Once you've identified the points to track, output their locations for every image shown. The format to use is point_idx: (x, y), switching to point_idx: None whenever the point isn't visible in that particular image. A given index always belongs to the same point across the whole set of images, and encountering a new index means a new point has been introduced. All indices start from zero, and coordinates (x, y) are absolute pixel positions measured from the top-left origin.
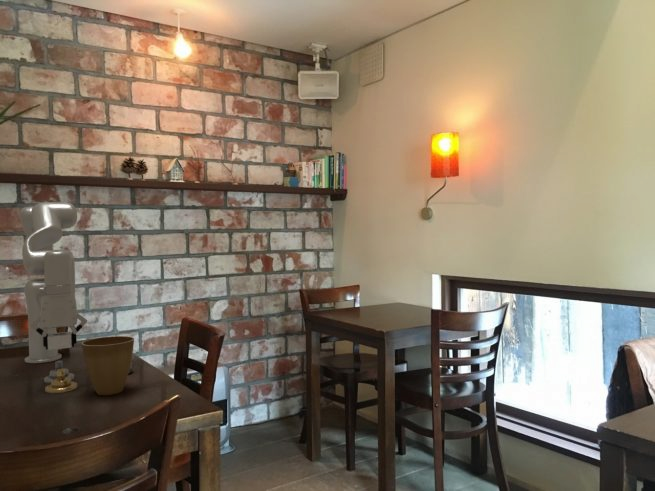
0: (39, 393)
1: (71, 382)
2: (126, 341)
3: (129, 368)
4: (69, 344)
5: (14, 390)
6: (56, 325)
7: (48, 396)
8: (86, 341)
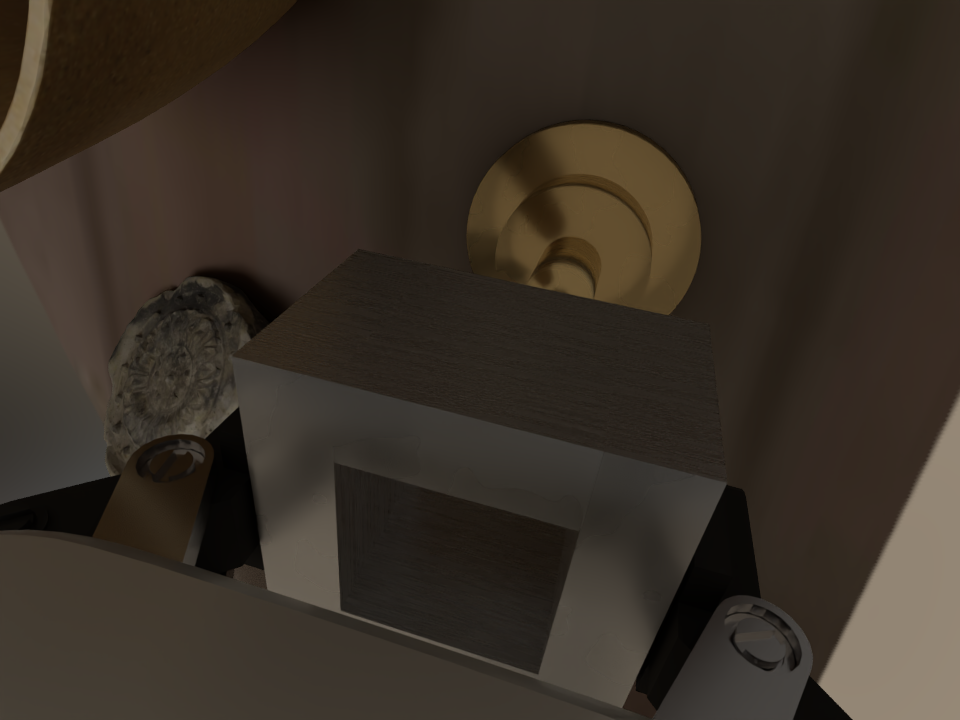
0: (751, 220)
1: None
2: None
3: (143, 331)
4: (363, 276)
5: (875, 423)
6: (429, 698)
7: (716, 71)
8: (33, 50)
